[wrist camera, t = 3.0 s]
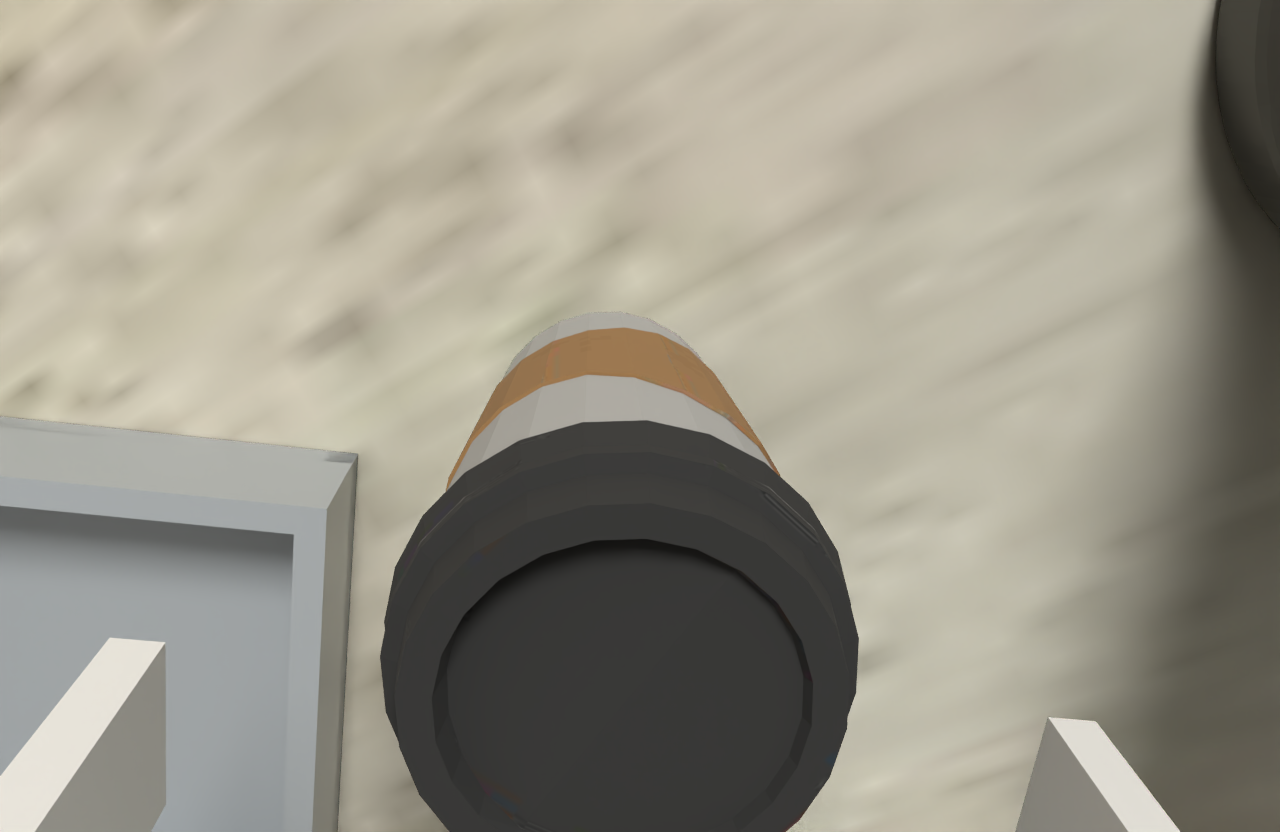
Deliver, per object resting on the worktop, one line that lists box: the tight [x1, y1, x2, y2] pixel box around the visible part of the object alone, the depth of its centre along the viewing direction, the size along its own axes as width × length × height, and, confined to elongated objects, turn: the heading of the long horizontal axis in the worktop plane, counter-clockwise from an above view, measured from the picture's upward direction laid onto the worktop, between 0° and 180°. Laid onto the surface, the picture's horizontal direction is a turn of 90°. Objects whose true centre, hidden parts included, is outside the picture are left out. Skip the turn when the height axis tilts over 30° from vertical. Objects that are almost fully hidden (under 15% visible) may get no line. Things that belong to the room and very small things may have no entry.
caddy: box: [0, 416, 358, 832], centre depth 33 cm, size 22×14×4 cm, turn 173°
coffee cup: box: [380, 312, 859, 832], centre depth 25 cm, size 8×8×15 cm
